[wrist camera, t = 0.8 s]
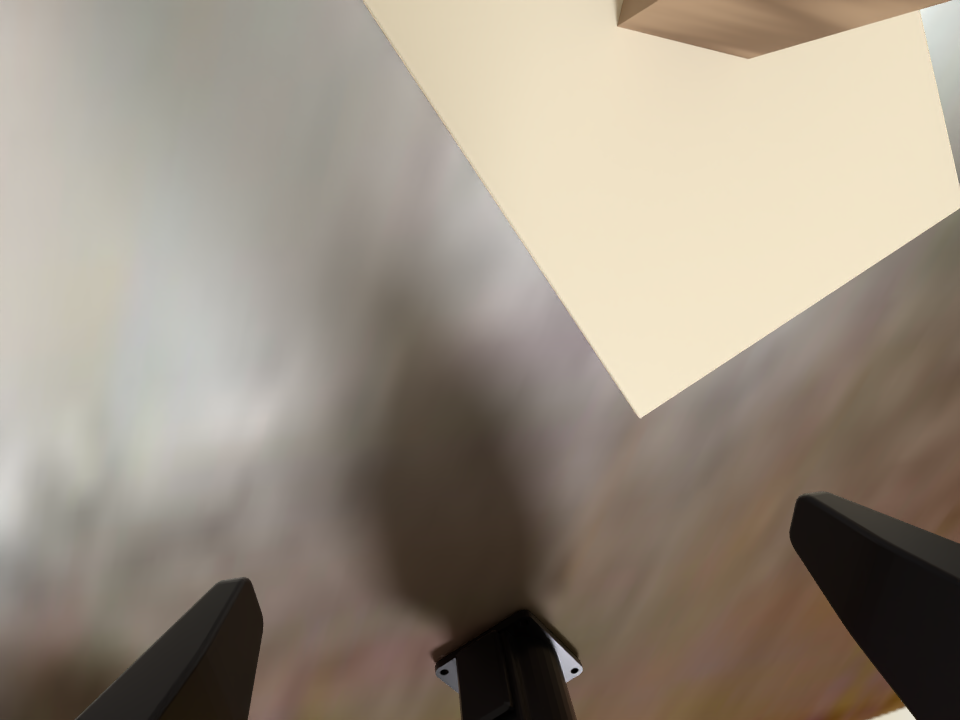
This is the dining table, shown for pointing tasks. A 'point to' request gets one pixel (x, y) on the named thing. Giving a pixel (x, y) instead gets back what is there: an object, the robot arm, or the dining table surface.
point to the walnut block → (756, 21)
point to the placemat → (683, 167)
